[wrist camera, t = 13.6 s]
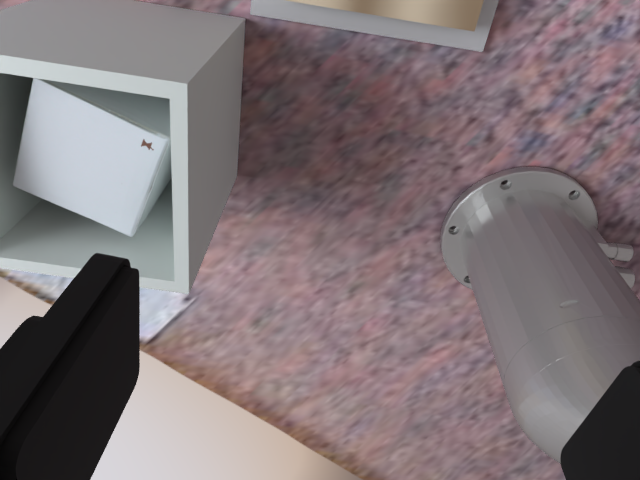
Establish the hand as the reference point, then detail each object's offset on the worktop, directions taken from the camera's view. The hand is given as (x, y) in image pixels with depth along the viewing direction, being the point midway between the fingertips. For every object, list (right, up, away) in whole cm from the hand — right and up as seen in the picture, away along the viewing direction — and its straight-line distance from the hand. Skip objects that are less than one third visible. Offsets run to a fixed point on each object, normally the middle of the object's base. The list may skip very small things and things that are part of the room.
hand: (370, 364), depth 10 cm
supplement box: (-13, +14, +28) cm, 34 cm away
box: (-13, +13, +28) cm, 34 cm away
